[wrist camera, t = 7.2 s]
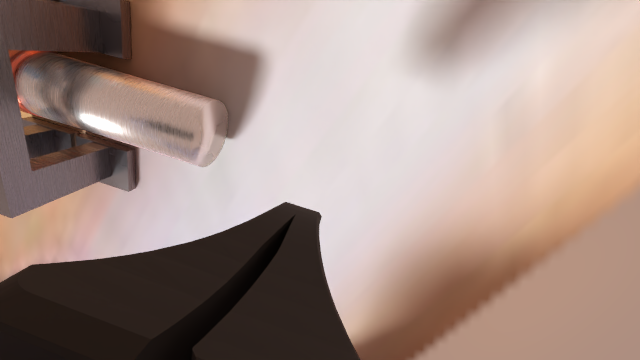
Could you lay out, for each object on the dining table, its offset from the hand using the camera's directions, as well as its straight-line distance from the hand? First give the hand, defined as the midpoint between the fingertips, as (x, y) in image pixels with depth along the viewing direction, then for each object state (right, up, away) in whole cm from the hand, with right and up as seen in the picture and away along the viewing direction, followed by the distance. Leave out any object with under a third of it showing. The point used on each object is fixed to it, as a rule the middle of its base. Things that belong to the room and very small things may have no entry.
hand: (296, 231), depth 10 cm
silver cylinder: (-11, +6, +7) cm, 15 cm away
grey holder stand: (-12, +7, +7) cm, 16 cm away
